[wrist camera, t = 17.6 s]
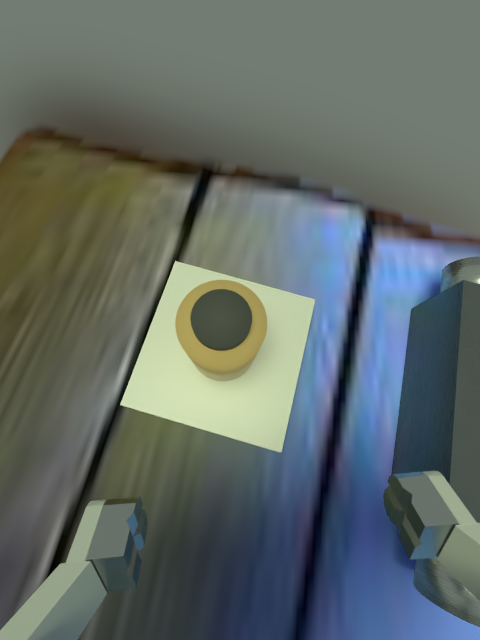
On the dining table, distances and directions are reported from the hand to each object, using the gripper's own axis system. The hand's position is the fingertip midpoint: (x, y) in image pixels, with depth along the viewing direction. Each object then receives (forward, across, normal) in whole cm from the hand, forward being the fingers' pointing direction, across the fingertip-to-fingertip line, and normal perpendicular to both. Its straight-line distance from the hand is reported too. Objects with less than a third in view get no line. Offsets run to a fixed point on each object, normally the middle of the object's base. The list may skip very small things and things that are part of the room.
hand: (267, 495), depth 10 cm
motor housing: (+10, -15, +8) cm, 20 cm away
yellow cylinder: (+14, +1, +3) cm, 14 cm away
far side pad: (+14, +1, +4) cm, 15 cm away
